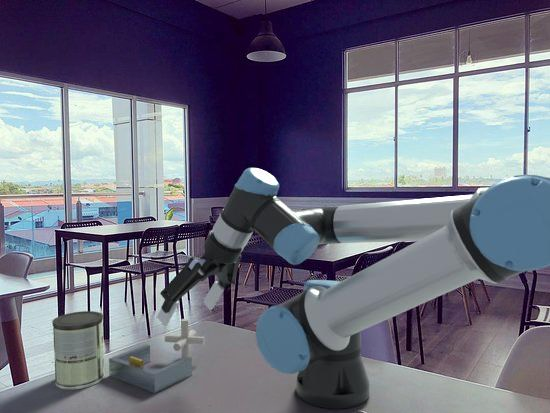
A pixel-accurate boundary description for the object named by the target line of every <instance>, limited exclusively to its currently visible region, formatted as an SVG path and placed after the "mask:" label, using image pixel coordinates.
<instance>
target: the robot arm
mask: <svg viewBox="0 0 550 413" xmlns="http://www.w3.org/2000/svg"><path fill="white" fill-rule="evenodd" d="M279 189H280V183H279V182H278V180H277V178H276V177H275V176H274V175H272V174H271V173H269V172H268V171H267V170H263V169H261V168H258V167H248V168H246V169H245V170H243V172H242V174H241V176H239V178H238V180H237V182H236V183H235V184H234V186H233V189H232V191H231V193H230V195H229V197H228V199H227V202H226V203H225V205H224V207H223V209H222V211H221V212H220V213H219V216H218V218H217V220H216V221H215V223H214V225H213V227H212V230H210V232H209V233H208V235H207V238H206V239H205V241H204V243H203V249H204V252H203V253H204V254H202V256H201V257H200V258H199V259H197V258H195V257H194V256H191V257H189V259H188V261H187V263H186V264H185V265H184V266H183V267H182V269H181V270H180V271H178V273H177V274H176V275H175V276H174V278H172V279H171V280H170V281H169V282H168V284H167V285H166V286H165V287H164V288H163V289H162V290H161V291H160V293H159V295H161V297H162V298H163V299H164V301H163V304H162V305H161V308H160V310H159V312H158V314H157V316H156V318H157V319H158V320H159V322H161V324H162V325H163V326H164V327H166V326H168V324H169V323H170V320H171V318H172V317H173V315H174V313H175V312H176V309H177V307H178V306H179V304H180V301H179V300H180V299H182V298H183V297H184V296H185V295H186V294H187V293H189V292H190V290H191V289H193V288H194V287H195V286H196V285H197V284H199V283H200V282H204V281H206V279H208V277H211V276H216V277H217V279H218V280H216V281H214V283H213V284H212V286H211V287H210V289H209V291H208V292H207V295H206V296H205V298H204V299H203V301H202V303H203V304H204V305H205V307H206V308H208V310H209V311H212V310H213V309H214V308H215V306H216V304H217V303H218V301H219V299H220V298H221V296H222V294H223V293H224V291H225V290H226V291H229V290H230V289H231V288H232V286H231V285H233V284H235V282H236V279H237V274H238V269H239V264H240V261H241V260H242V257H243V255H241V254H242V252H243V251H244V248H245V247H246V246H247V244H248V243H249V240H250V238H251V237H252V235H253V233H254V232H256V234H258V235H259V236H260V237H261V238H262V240H263V241H265V242H266V243H267V245H269V247H271V249H273V250H274V252H275V253H276V254H277V255H279V256H280V257H282V258H283V259H284V260H285V261H287V262H288V263H289V264H291V265H293V266H294V265H300V264H301V263H303V262H304V261H306V260H307V259H309V258H310V257H311V256H312V255H313V254H314V252H315V251H316V249H317V247H318V246H321V245H330V244H332V245H334V244H352V243H353V244H356V243H389V242H393V243H394V242H396V243H397V242H413V243H412V244H410V245H407V246H406V247H404V248H402V249H400V250H398V251H396V252H394V253H393V254H390V255H389V256H386V257H385V258H383V259H381V260H379V261H377V262H375V263H374V264H372V265H370V266H367V267H366V268H364V269H363V270H360V271H359V272H356V273H355V274H353V275H351V276H349V277H347V278H346V279H344V280H342V281H338V280H331V279H330V280H325V279H312V280H311V279H309V280H307V281H305V282H304V285H303V289H302V290H303V291H302V292H301V293H299V294H297V295H295V296H293V297H292V298H290V299H287V300H285V301H284V302H282V303H280V304H277V305H272V306H270V307H268V309H266V310H265V311H264V312H262V313H261V314H260V316H259V317H258V319H257V322H256V330H255V338H256V339H255V340H256V343H257V347H258V349H259V352H260V354H261V356H262V358H263V359H264V361H265V362H266V363H267V365H268V366H270V367H271V368H272V369H273V368H274V369H275V370H276V371H277V372H278V373H281V374H284V375H293V374H296V373H297V376H296V381H295V382H296V383H295V386H296V388H295V389H296V394H297V396H298V397H299V398H300V399H301V400H303V401H304V402H306V403H308V404H310V405H313V406H316V407H320V408H326V409H336V410H338V409H348V408H353V407H357V406H359V405H361V404H363V403H365V402H366V401H367V400H368V399H369V398H370V380H369V378H368V374H367V371H366V368H365V365H364V362H363V359H362V355H361V354H362V348H361V347H362V331H364V330H366V329H369V328H371V327H373V326H376V325H377V324H380V323H382V322H384V321H386V320H388V319H392V318H394V317H396V316H399V315H400V314H402V313H404V312H407V311H410V310H411V309H414V308H416V307H418V306H420V305H422V304H425V303H427V302H429V301H431V300H434V299H437V298H438V297H440V296H443V295H445V294H447V293H450V292H452V291H454V290H457V289H458V288H461V287H463V286H465V285H468V284H470V283H472V282H475V281H477V280H482V281H485V282H489V283H492V284H498V283H501V282H503V281H505V280H507V279H510V278H512V277H515V276H517V275H520V274H522V273H524V272H530V271H537V270H543V269H546V268H549V267H550V177H547V176H542V175H537V174H536V175H535V174H520V175H519V174H518V175H514V176H511V177H505V178H503V179H501V180H498V181H496V182H494V183H493V184H492V185H490V186H488V187H480V188H478V189H477V190H476V191H475V192H474V193H472V194H465V195H463V194H462V195H454V196H443V197H440V196H439V197H430V198H429V197H428V198H419V199H417V198H416V199H406V200H393V201H383V202H381V201H379V202H371V203H358V204H345V205H338V206H335V205H334V206H328V205H326V206H325V205H324V206H319V207H311V208H305V209H295V210H293V209H291V208H290V207H289V206H287V205H286V204H285V203H284V202H283V201H282V200H281V198H279V197H277V194H278V192H279ZM200 272H201V273H202V274H201V273H200Z"/></svg>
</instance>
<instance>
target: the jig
mask: <svg viewBox="0 0 550 413" xmlns="http://www.w3.org/2000/svg"><path fill="white" fill-rule="evenodd" d="M192 360H193V358H192V357H190V356H189V357H186V358H184V359H182V358H181V359H180V360H179V359H178V360H177V361H175V362H173V363H171V364H168V365H166V366H164V367H161V368H159V369H157V370H153V369H150V368H147V367H144V364H147V363H149V362H151V345H150V344H144V345H141V346H139V347H136V348H133V349H131V350H128V351H125V352H122V353H120V354H118V355H114V356H112V357H110V358H108V369H109V374H108V376H109V377H111V378H113V379H116V380H119V381H121V382H124V383H128V384H130V385H132V386H135V387H137V388H139V389H143V390H145V391H147V392H150V393H153V394H156V393H159V392H161V391H163V390H165V389H167V388H169V387H171V386H173V385H175V384H177V383H179V382H182V381H183V380H185V379H187V378H189V377H190V376H193V369H192V368H193V366H192V365H193V363H192V362H193V361H192Z"/></svg>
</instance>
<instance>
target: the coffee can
mask: <svg viewBox="0 0 550 413" xmlns="http://www.w3.org/2000/svg"><path fill="white" fill-rule="evenodd" d="M103 320H104V314H103V313H102V312H99V311H93V310H92V311H91V310H88V311H86V310H85V311H83V310H82V311H75V312H69V313H66V314H65V313H64V314H62V315H59V316H57V317H55V318H53V320H52V322H51V323H52V326H53V328H52V329H53V330H52V331H53V332H52V333H53V351H54V352H53V354H54V371H55V372H54V376H55V384H54V385H55V386H56V388H59V389H60V390H67V391H68V390H70V391H71V390H72V391H73V390H81V389H86V388H89V387H92V386H94V385H97V384H99V383H100V382H102V381H103V380H104V379H105V375H106V374H105V357H104V354H105V353H104V351H105V350H104V324H103Z"/></svg>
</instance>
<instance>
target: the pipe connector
mask: <svg viewBox="0 0 550 413" xmlns="http://www.w3.org/2000/svg"><path fill="white" fill-rule="evenodd" d="M189 324H190V323H189V319H188V318H182V319H181V320H180V332H181V334H177V335H176V334H165V336H164V343H174V344H173V346H172V347H173V350H174V351H176V352H178V351H180V350H181V359H184V358H186V357H190V344H191V345H206V339H207V338H206V336H196V335H197V332H196V330H195V329H189V328H190V327H189Z"/></svg>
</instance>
